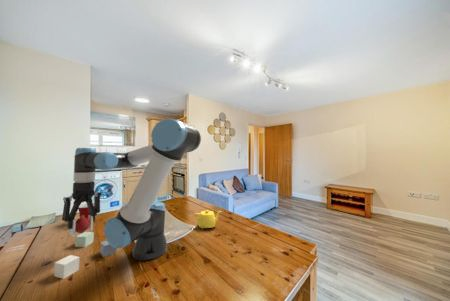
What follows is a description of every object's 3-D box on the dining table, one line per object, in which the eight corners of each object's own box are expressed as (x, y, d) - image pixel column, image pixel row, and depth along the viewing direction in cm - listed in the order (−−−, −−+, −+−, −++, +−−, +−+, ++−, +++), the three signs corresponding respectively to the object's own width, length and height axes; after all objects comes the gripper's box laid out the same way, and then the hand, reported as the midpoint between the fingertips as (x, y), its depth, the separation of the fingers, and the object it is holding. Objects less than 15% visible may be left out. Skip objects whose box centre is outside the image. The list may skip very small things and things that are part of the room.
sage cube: (93, 242, 86) (93, 232, 86) (85, 247, 81) (85, 236, 81) (83, 241, 86) (84, 232, 86) (75, 246, 81) (75, 236, 81)
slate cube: (116, 252, 77) (116, 241, 77) (103, 257, 73) (104, 246, 73) (112, 248, 80) (113, 238, 80) (100, 253, 76) (100, 242, 77)
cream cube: (78, 270, 65) (79, 257, 65) (63, 279, 60) (64, 265, 60) (69, 267, 66) (70, 254, 66) (53, 276, 61) (54, 262, 61)
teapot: (220, 223, 115) (221, 207, 115) (221, 230, 104) (222, 213, 104) (194, 223, 113) (195, 207, 114) (193, 230, 102) (193, 213, 103)
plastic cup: (86, 219, 115) (88, 201, 116) (100, 220, 114) (102, 202, 115) (70, 225, 105) (72, 206, 105) (86, 226, 103) (87, 207, 104)
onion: (79, 237, 71) (80, 218, 71) (69, 235, 72) (70, 217, 73) (92, 231, 77) (93, 213, 77) (83, 229, 78) (83, 212, 78)
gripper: (102, 178, 86) (99, 223, 85) (52, 183, 69) (48, 240, 67) (110, 179, 83) (108, 226, 81) (61, 184, 65) (57, 244, 64)
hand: (81, 232), depth 74 cm, fingers closed on onion, 6 cm apart
